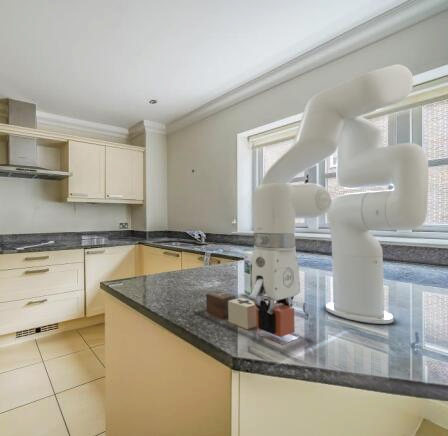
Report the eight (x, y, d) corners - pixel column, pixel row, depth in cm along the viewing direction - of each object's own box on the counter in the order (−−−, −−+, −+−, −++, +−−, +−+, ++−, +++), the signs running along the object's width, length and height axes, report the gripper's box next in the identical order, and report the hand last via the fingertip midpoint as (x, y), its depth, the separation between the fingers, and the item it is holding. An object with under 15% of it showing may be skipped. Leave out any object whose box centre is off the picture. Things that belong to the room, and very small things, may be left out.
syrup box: (243, 294, 83) (242, 251, 83) (261, 294, 82) (260, 251, 83) (252, 299, 77) (251, 253, 77) (271, 299, 77) (270, 253, 77)
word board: (220, 307, 70) (220, 306, 70) (308, 340, 51) (308, 337, 51) (196, 313, 66) (196, 311, 66) (283, 351, 46) (283, 349, 46)
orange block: (271, 323, 55) (270, 300, 56) (295, 331, 51) (295, 306, 51) (255, 328, 53) (255, 304, 53) (279, 337, 48) (279, 311, 49)
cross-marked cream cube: (241, 317, 62) (241, 297, 62) (261, 324, 57) (260, 302, 57) (228, 321, 59) (228, 300, 59) (247, 329, 55) (247, 306, 55)
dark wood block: (219, 309, 68) (219, 290, 68) (235, 315, 63) (235, 295, 63) (206, 312, 65) (206, 293, 65) (222, 318, 61) (221, 298, 61)
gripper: (267, 245, 45) (268, 345, 45) (314, 241, 53) (316, 326, 53) (231, 242, 52) (232, 329, 51) (278, 239, 60) (279, 315, 59)
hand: (275, 327), depth 52 cm, fingers closed on orange block, 5 cm apart
